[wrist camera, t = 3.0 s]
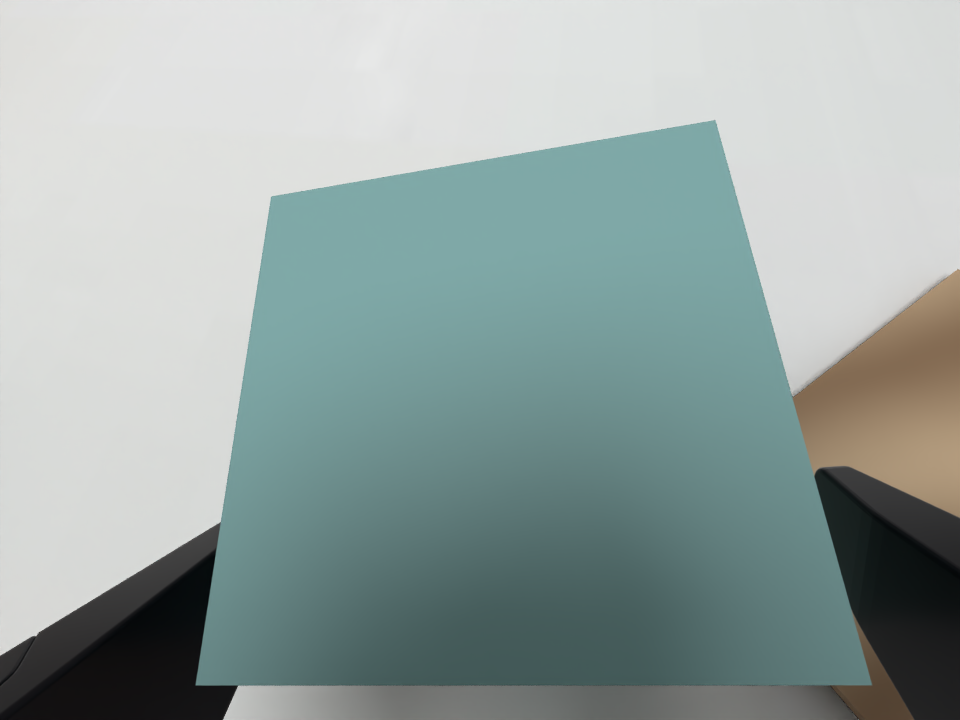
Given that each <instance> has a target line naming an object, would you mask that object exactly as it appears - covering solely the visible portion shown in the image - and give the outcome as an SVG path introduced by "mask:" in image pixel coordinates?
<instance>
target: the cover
mask: <svg viewBox="0 0 960 720" xmlns="http://www.w3.org/2000/svg"><path fill="white" fill-rule="evenodd" d="M196 685H872V683H871V679H870V676H869V672H868V668H867V665H866V661H865V658H864V654H863V650H862V647H861V643H860V640H859V636H858V632H857V629H856V625H855V622H854V618H853V614H852V611H851V607H850V604H849V600H848V596H847V593H846V589H845V586H844V582H843V578H842V575H841V571H840V568H839V564H838V560H837V557H836V553H835V550H834V546H833V542H832V539H831V535H830V532H829V528H828V524H827V521H826V517H825V514H824V510H823V506H822V503H821V499H820V495H819V492H818V488H817V485H816V481H815V477H814V474H813V470H812V467H811V463H810V459H809V456H808V452H807V449H806V445H805V441H804V438H803V434H802V431H801V427H800V423H799V420H798V416H797V413H796V409H795V405H794V402H793V398H792V395H791V391H790V387H789V384H788V380H787V377H786V373H785V369H784V366H783V362H782V359H781V355H780V351H779V348H778V344H777V341H776V337H775V333H774V330H773V326H772V323H771V319H770V315H769V312H768V308H767V305H766V301H765V297H764V294H763V290H762V287H761V283H760V279H759V276H758V272H757V268H756V265H755V261H754V258H753V254H752V250H751V247H750V243H749V240H748V236H747V232H746V229H745V225H744V222H743V218H742V214H741V211H740V207H739V204H738V200H737V196H736V193H735V189H734V186H733V182H732V178H731V175H730V171H729V168H728V164H727V160H726V157H725V153H724V150H723V146H722V142H721V139H720V135H719V132H718V128H717V124H716V121H715V120H714V121H708V122H702V123H696V124H690V125H685V126H679V127H673V128H667V129H661V130H655V131H650V132H644V133H638V134H632V135H626V136H621V137H615V138H609V139H603V140H597V141H592V142H586V143H580V144H574V145H568V146H562V147H557V148H551V149H545V150H539V151H533V152H528V153H522V154H516V155H510V156H504V157H499V158H493V159H487V160H481V161H475V162H469V163H464V164H458V165H452V166H446V167H440V168H435V169H429V170H423V171H417V172H411V173H406V174H400V175H394V176H388V177H382V178H376V179H371V180H365V181H359V182H353V183H347V184H342V185H336V186H330V187H324V188H318V189H313V190H307V191H301V192H295V193H289V194H284V195H278V196H272V197H271V202H270V208H269V214H268V221H267V227H266V234H265V240H264V247H263V253H262V260H261V266H260V273H259V279H258V285H257V292H256V298H255V305H254V311H253V318H252V324H251V331H250V337H249V344H248V350H247V357H246V363H245V369H244V376H243V382H242V389H241V395H240V402H239V408H238V415H237V421H236V428H235V434H234V441H233V447H232V453H231V460H230V466H229V473H228V479H227V486H226V492H225V499H224V505H223V512H222V518H221V524H220V531H219V537H218V544H217V550H216V557H215V563H214V570H213V576H212V583H211V589H210V596H209V602H208V608H207V615H206V621H205V628H204V634H203V641H202V647H201V654H200V660H199V667H198V673H197V680H196Z"/></svg>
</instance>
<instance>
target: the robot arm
mask: <svg viewBox="0 0 960 720" xmlns="http://www.w3.org/2000/svg"><path fill="white" fill-rule="evenodd" d="M814 477H815V481H816V485H817V488H818V492H819V495H820V499H821V503H822V506H823V510H824V514H825V517H826V521H827V524H828V528H829V532H830V535H831V539H832V542H833V546H834V550H835V553H836V557H837V560H838V564H839V568H840V571H841V575H842V578H843V582H844V586H845V589H846V593H847V596H848V600H849V604H850V607H851V610H852V612H853V614H854V616H855V618H856V620H857V622H858V624H859V626H860V628H861V630H862V631H863V633H864V635H865V637H866V639H867V640H868V642H869V644H870V645H871V647H872V649H873V650H874V652H875V654H876V656H877V657H878V659H879V661H880V662H881V664H882V666H883V668H884V669H885V671H886V673H887V674H888V676H889V678H890V679H891V681H892V683H893V685H894V686H895V688H896V690H897V691H898V693H899V695H900V696H901V698H902V700H903V702H904V703H905V705H906V707H907V708H908V710H909V712H910V714H911V715H912V717H913V719H914V720H960V517H957V516H955V515H953V514H951V513H949V512H947V511H945V510H942V509H940V508H938V507H936V506H934V505H932V504H929V503H927V502H925V501H923V500H921V499H919V498H916V497H914V496H912V495H910V494H908V493H906V492H903V491H901V490H899V489H897V488H895V487H893V486H890V485H888V484H886V483H884V482H882V481H880V480H878V479H875V478H873V477H871V476H869V475H867V474H865V473H862V472H860V471H858V470H856V469H854V468H851V467H849V466H832V467H820V468H819V469H818V470H816V472H815V475H814ZM220 524H221V522H220V523H219V524H217V525H215V526H214V527H212V528H210V529H209V530H207V531H205V532H204V533H202V534H200V535H199V536H197V537H195V538H194V539H192V540H191V541H189V542H187V543H186V544H184V545H182V546H181V547H179V548H177V549H176V550H174V551H172V552H171V553H169V554H167V555H166V556H164V557H162V558H161V559H159V560H158V561H156V562H154V563H153V564H151V565H149V566H148V567H146V568H144V569H143V570H141V571H139V572H138V573H136V574H134V575H133V576H131V577H130V578H128V579H126V580H125V581H123V582H121V583H120V584H118V585H116V586H115V587H113V588H111V589H110V590H108V591H106V592H105V593H103V594H102V595H100V596H98V597H97V598H95V599H93V600H92V601H90V602H88V603H87V604H85V605H83V606H82V607H80V608H78V609H77V610H75V611H73V612H72V613H70V614H69V615H67V616H65V617H64V618H62V619H60V620H59V621H57V622H55V623H54V624H52V625H50V626H49V627H47V628H45V629H44V630H42V631H41V632H39V633H38V635H37V636H32V637H30V638H29V639H27V640H26V641H24V642H22V643H21V644H19V645H17V646H16V647H14V648H12V649H11V650H9V651H7V652H6V653H4V654H2V655H1V656H0V720H223V719H224V716H225V714H226V712H227V710H228V707H229V705H230V703H231V701H232V698H233V696H234V694H235V692H236V689H237V687H238V685H196V680H197V673H198V667H199V660H200V654H201V647H202V641H203V634H204V628H205V621H206V615H207V608H208V602H209V596H210V589H211V583H212V576H213V570H214V563H215V557H216V550H217V544H218V537H219V531H220Z"/></svg>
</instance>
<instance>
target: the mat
mask: <svg viewBox="0 0 960 720" xmlns="http://www.w3.org/2000/svg"><path fill="white" fill-rule="evenodd" d="M793 402H794V405H795V409H796V413H797V416H798V420H799V423H800V427H801V431H802V434H803V438H804V441H805V445H806V449H807V452H808V456H809V459H810V463H811V467H812V470H813V474H814V475H815V472H816V470H818V469H819V468H820V467H832V466H849V467H851V468H854V469H856V470H858V471H860V472H862V473H865V474H867V475H869V476H871V477H873V478H875V479H878V480H880V481H882V482H884V483H886V484H888V485H890V486H893V487H895V488H897V489H899V490H901V491H903V492H906V493H908V494H910V495H912V496H914V497H916V498H919V499H921V500H923V501H925V502H927V503H929V504H932V505H934V506H936V507H938V508H940V509H942V510H945V511H947V512H949V513H951V514H953V515H955V516H957V517H960V270H959V269H958V270H956V271H955V272H954V273H952V274H951V275H950V276H949V277H947V278H946V279H945V280H943V281H942V282H941V283H940V284H938V285H937V286H936V287H934V288H933V289H932V290H931V291H929V292H928V293H927V294H925V295H924V296H923V297H922V298H920V299H919V300H918V301H916V302H915V303H914V304H913V305H911V306H910V307H909V308H907V309H906V310H905V311H904V312H902V313H901V314H900V315H898V316H897V317H896V318H895V319H893V320H892V321H891V322H889V323H888V324H887V325H886V326H884V327H883V328H882V329H880V330H879V331H878V332H877V333H875V334H874V335H873V336H872V337H870V338H869V339H868V340H866V341H865V342H864V343H863V344H861V345H860V346H859V347H857V348H856V349H855V350H854V351H852V352H851V353H850V354H848V355H847V356H846V357H845V358H843V359H842V360H841V361H839V362H838V363H837V364H836V365H834V366H833V367H832V368H830V369H829V370H828V371H827V372H825V373H824V374H823V375H821V376H820V377H819V378H818V379H816V380H815V381H814V382H812V383H811V384H810V385H809V386H807V387H806V388H805V389H803V390H802V391H801V392H800V393H798V394H797V395H796V396H794V397H793ZM851 611H852V610H851ZM852 614H853V612H852ZM853 618H854V622H855V625H856V629H857V632H858V636H859V640H860V643H861V647H862V650H863V654H864V658H865V661H866V665H867V668H868V672H869V676H870V679H871V683H872V685H830V686H831V687H832V688H833V689H834V691H835V692H836V693H837V694H838V695H839V696H840V698H841V699H842V700H843V701H844V702H845V703H846V705H847V706H848V707H849V708H850V709H851V710H852V711H853V713H854V714H855V715H856V716H857V717H858V718H859V720H914V719H913V717H912V715H911V714H910V712H909V710H908V708H907V707H906V705H905V703H904V702H903V700H902V698H901V696H900V695H899V693H898V691H897V690H896V688H895V686H894V685H893V683H892V681H891V679H890V678H889V676H888V674H887V673H886V671H885V669H884V668H883V666H882V664H881V662H880V661H879V659H878V657H877V656H876V654H875V652H874V650H873V649H872V647H871V645H870V644H869V642H868V640H867V639H866V637H865V635H864V633H863V631H862V630H861V628H860V626H859V624H858V622H857V620H856V618H855V616H854V614H853Z"/></svg>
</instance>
